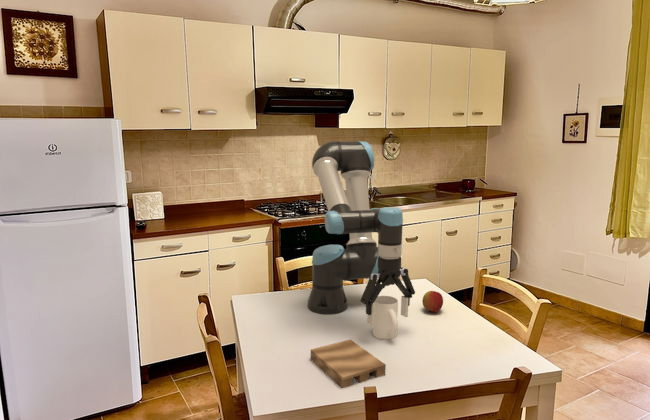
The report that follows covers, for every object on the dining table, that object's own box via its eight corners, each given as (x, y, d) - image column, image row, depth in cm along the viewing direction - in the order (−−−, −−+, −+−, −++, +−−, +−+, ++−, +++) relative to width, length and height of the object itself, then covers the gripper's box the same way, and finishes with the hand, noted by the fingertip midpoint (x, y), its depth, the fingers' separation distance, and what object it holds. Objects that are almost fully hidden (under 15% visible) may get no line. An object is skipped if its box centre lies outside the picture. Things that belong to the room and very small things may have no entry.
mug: (383, 346, 148) (384, 310, 146) (368, 330, 160) (368, 297, 157) (406, 342, 151) (408, 307, 149) (390, 327, 162) (391, 294, 160)
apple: (447, 312, 176) (448, 292, 175) (432, 317, 171) (433, 296, 170) (432, 306, 182) (433, 286, 181) (417, 310, 178) (418, 290, 176)
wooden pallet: (310, 358, 140) (310, 349, 140) (350, 348, 147) (350, 339, 147) (342, 388, 125) (342, 377, 124) (385, 374, 132) (385, 364, 131)
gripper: (363, 264, 141) (362, 331, 145) (427, 254, 153) (424, 316, 157) (350, 258, 148) (349, 323, 151) (412, 249, 160) (410, 309, 163)
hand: (387, 319), depth 154 cm, fingers open, 13 cm apart
